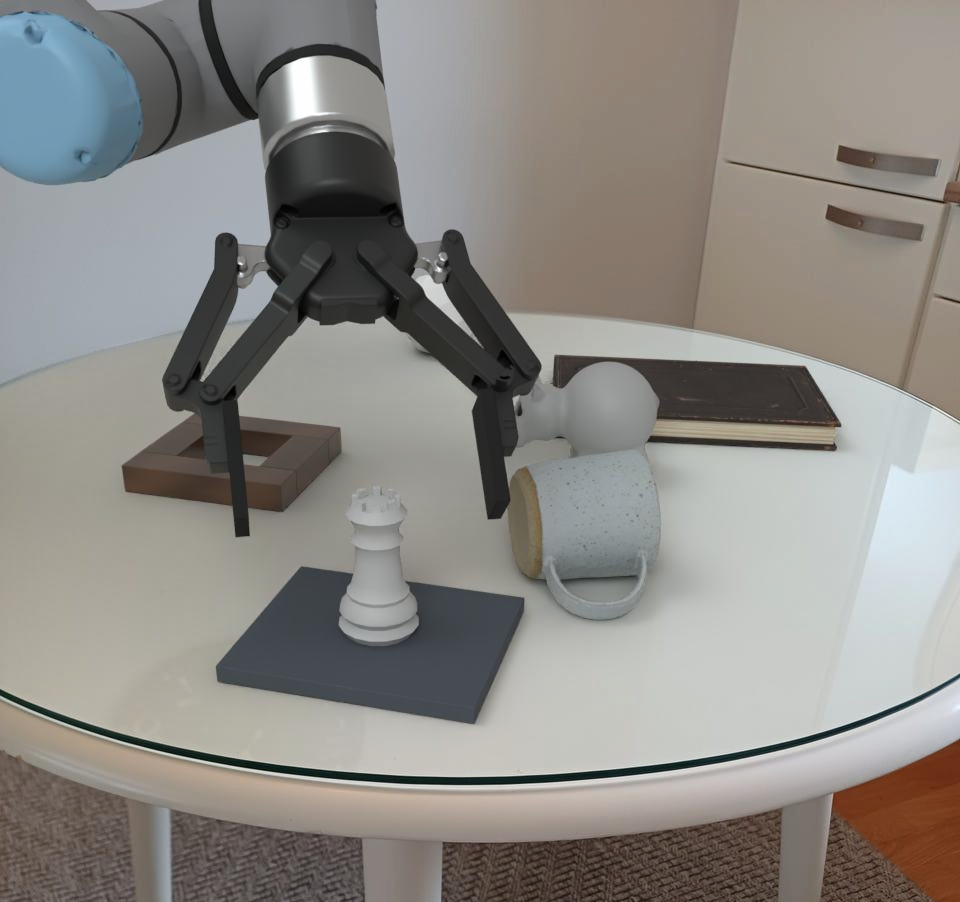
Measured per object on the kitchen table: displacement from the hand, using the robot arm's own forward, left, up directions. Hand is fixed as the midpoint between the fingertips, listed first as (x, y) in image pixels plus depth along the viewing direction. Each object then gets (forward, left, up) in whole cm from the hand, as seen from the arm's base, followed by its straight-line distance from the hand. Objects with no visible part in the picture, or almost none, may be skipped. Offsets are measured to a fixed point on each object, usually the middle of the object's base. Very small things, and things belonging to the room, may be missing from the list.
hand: (373, 519), depth 59 cm
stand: (-18, +21, -8) cm, 28 cm away
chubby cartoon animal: (+6, +28, -8) cm, 30 cm away
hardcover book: (+13, +45, -8) cm, 47 cm away
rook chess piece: (0, 0, -7) cm, 7 cm away
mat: (0, 0, -8) cm, 8 cm away
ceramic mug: (+10, +11, -8) cm, 17 cm away
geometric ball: (-12, +55, -8) cm, 57 cm away
